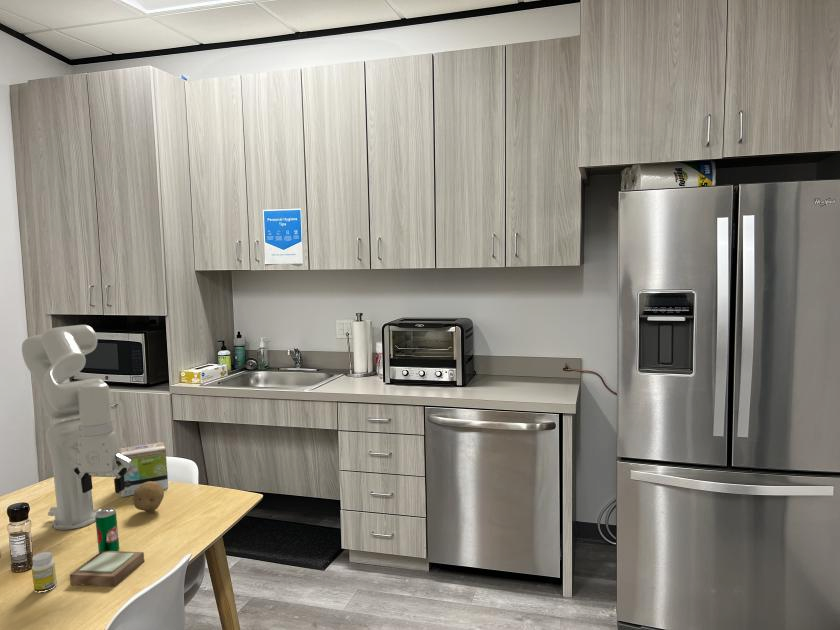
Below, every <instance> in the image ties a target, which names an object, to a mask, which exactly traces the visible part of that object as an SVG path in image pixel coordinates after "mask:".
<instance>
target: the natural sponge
mask: <svg viewBox="0 0 840 630" xmlns="http://www.w3.org/2000/svg"><path fill="white" fill-rule="evenodd" d="M164 490H165V489H164ZM164 490H163V488H162V486H161V485H160V484H158V483H157V482H153V481H149V482H145V483H143V484H142V485H140V486H139V487H138V488H137V489H136V490H135V492H134V495H132V504H133V506H134V507H135V509H137V510H138V511H139V510H140V511H142V512H143V511H144V512H145V513H148V514H149V513H154V512H155V511H156V510H157V509H158V508H159V507H160V505H161V503H162V501H163V500H164V495H165V491H164Z"/></svg>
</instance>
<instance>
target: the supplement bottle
mask: <svg viewBox="0 0 840 630" xmlns="http://www.w3.org/2000/svg"><path fill="white" fill-rule="evenodd" d="M55 567H56V563H55V560H53V555H52V552H50V551H43V552H39V553H37V554H35V555H33V556H32V567H31V573H32V575H31V576H32V582H33V591H34V590H35V591H37V592H39V591H45V590H49V589H51V588H53V587H54V586H56V587H57V585H58V582H57V574H56V573H57V572H56V568H55ZM56 584H57V585H56ZM35 591H34V592H35Z"/></svg>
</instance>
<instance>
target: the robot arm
mask: <svg viewBox="0 0 840 630" xmlns="http://www.w3.org/2000/svg"><path fill="white" fill-rule="evenodd" d="M97 346H98V336H97V333H96V331H95V330H94V329H93V327H92V326H90V325H87V324H77V325H75V324H74V325H68V326H66V325H65V326H57V327H52V328H49V329H48V330H46V331H45V332H44V333H42V334H41V333H40V334H35V335H33V336H29V337H27V338H25V339H24V340H23V342H22V344H21V353H22V354H21V355H22V358H23V362H24V363H25V365H26V367H27V370H28V371H29V372H30V374H31V375H32V376H33V378H34V380H35V381H36V384H37V387H38V391H39V395H40V398H41V402H42V406H43V409H44V412H45V415H46V417H47V418H48V419H49V420H52V421H59V420H60V422H57V423H54V424H52V425H51V426H50V427H48V429H47V430H46V433H45V440H46V441H45V442H46V444H47V448H48V452H49V454H50V460H51V465H52V471H53V473H52V474H53V482H54V492H55V500H56V506H51V507H50V508H49V511H48V512H47V516H49V517H54V520H53V521H52V527H53V529H54V530H55V529H56V530H59V531H60V530H61V531H64V530H65V531H66V530H74V529H75V530H76V529H80V528H82V527H85V526H89V525H90V524H92V523H94V522H96V520H95V516H96V514H97V513H96V512H97V511H98V509H95V508H94V503H93V502H94V501H93V492H92V490H93V479H92V475H91V474H109V473H111V474H112V475H113V476H114V477H115V478H114V479H113V483H114V492H115V493H116V494H119V493H121V491H123V490H124V489H125V480H124V475H126V473H127V471H128V470H129V467H130V465H131V462H132V461H131V460H130V459H128V458H126V457H124V456H122V455H121V451H120V448H121V447H120V441H119V439H118V436H117V433H116V431H114V423H113V413H112V403H111V402H112V401H111V394H110V392H111V391H110V387H109V385H108V384H107V383H106V382H105V380H103V379H102V378H91V379H83V380H82V379H80V380H75V381H70V378H72V377H74V376H76V375H77V374H78V373H80V372H82V370H83V369H84V368H85V366H86V362H87V361H86V360H87V358H86V355H88V354H90V353H92V352H94V350H96V348H97ZM76 417H79V418H76ZM71 418H74V419H71ZM67 419H68V420H67ZM61 420H64V421H61ZM122 463H123V468H122V467H121V465H122Z"/></svg>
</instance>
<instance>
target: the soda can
mask: <svg viewBox="0 0 840 630" xmlns="http://www.w3.org/2000/svg"><path fill="white" fill-rule="evenodd" d="M96 513H97V514H96V516H95V520H96V521H95V528H96V538H97V539H96V540H97V549H98V553H100V552H101V551H120V540H119V530H118V529H119V528H118V519H117V511H116V510H115V508H114V507H111V506H109V507H103V508H100V509H97V512H96Z"/></svg>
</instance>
